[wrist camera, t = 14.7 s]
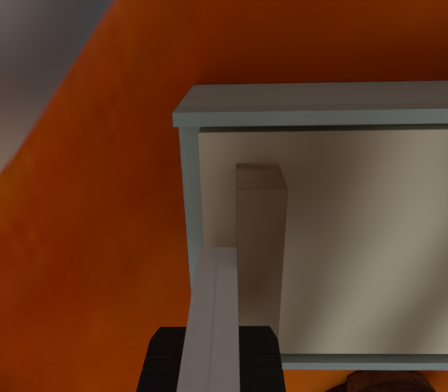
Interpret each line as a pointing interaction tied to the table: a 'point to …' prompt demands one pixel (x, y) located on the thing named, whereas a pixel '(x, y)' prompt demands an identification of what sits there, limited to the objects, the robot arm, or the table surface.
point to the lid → (334, 232)
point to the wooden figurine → (385, 382)
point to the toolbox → (304, 116)
